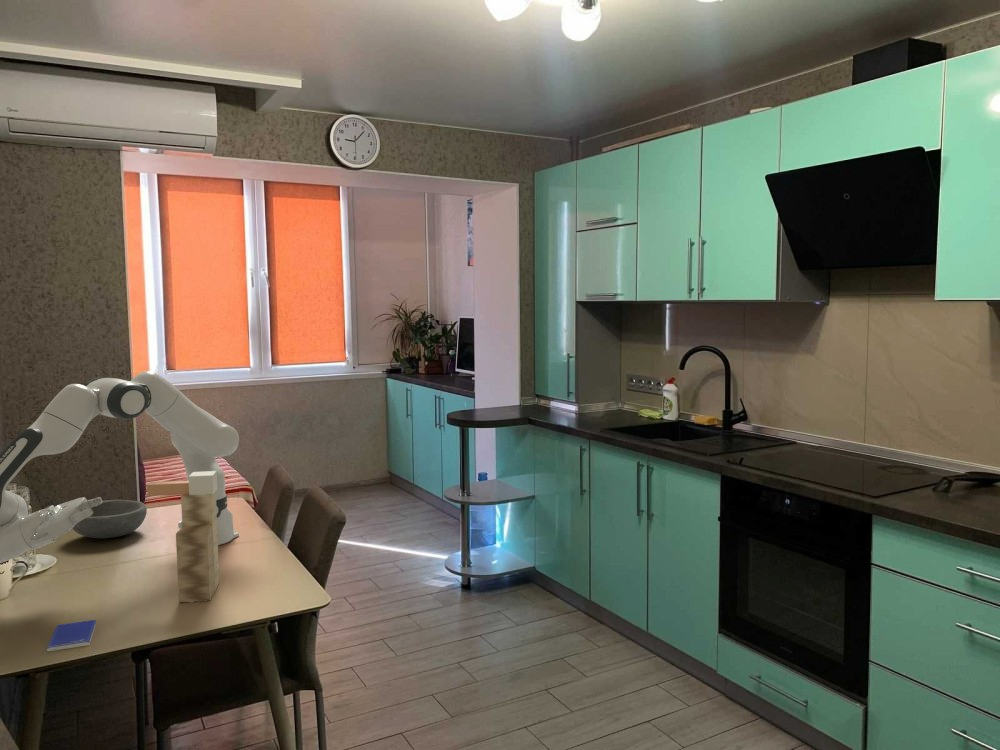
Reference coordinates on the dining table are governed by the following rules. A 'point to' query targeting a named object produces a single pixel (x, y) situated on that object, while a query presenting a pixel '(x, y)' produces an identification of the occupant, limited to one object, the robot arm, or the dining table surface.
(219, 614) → the dining table surface
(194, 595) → the beige tall block
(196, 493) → the hammer
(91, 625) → the hard drive
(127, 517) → the bowl
